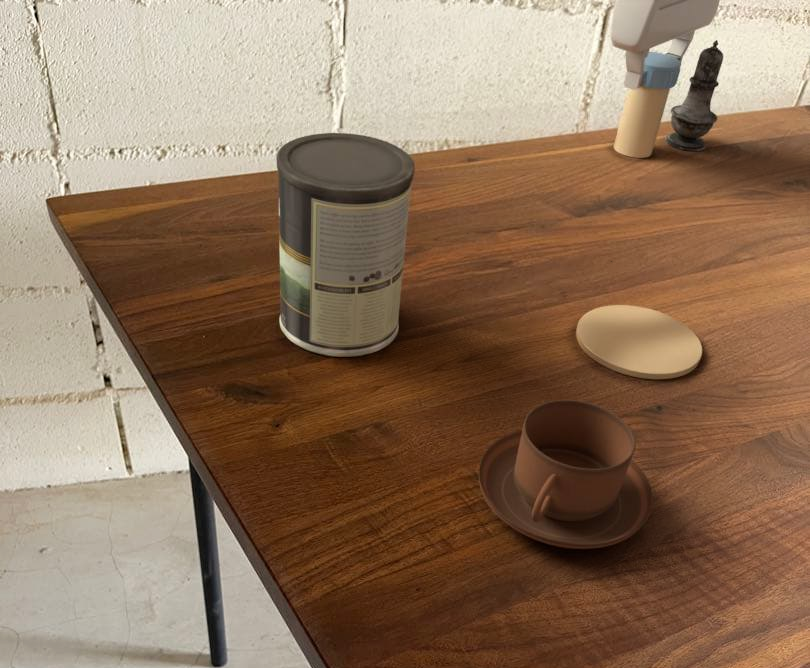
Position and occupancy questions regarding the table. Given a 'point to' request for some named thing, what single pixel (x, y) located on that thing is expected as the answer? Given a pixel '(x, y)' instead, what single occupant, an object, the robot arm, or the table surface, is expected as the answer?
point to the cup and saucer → (568, 477)
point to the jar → (640, 121)
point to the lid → (661, 71)
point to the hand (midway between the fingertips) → (651, 78)
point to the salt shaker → (697, 104)
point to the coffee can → (342, 241)
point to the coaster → (639, 342)
